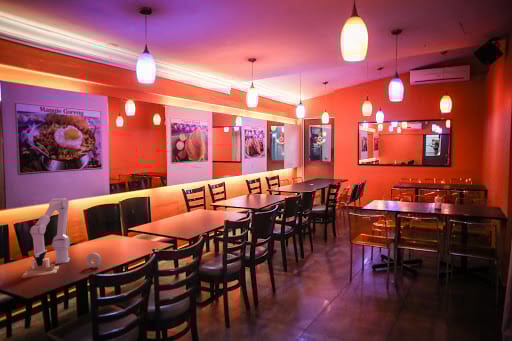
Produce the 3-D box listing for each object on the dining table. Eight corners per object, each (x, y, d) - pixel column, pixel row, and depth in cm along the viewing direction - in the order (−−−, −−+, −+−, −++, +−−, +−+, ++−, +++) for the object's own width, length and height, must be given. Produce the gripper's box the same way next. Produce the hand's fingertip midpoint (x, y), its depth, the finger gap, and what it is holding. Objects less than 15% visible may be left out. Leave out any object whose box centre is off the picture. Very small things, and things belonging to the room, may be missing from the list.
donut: (102, 266, 223) (101, 251, 222) (99, 268, 219) (98, 253, 218) (88, 266, 224) (87, 251, 223) (85, 268, 220) (84, 253, 220)
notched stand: (27, 271, 219) (26, 266, 219) (59, 267, 225) (58, 261, 225) (21, 278, 208) (21, 272, 207) (55, 273, 214) (55, 267, 214)
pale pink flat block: (33, 270, 216) (32, 260, 215) (49, 268, 219) (48, 258, 219) (32, 272, 213) (31, 261, 213) (48, 269, 217) (47, 259, 216)
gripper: (43, 246, 210) (45, 267, 211) (48, 240, 223) (50, 260, 224) (30, 247, 207) (32, 269, 208) (36, 241, 221) (37, 262, 222)
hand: (40, 265), depth 216 cm, fingers closed on pale pink flat block, 2 cm apart
